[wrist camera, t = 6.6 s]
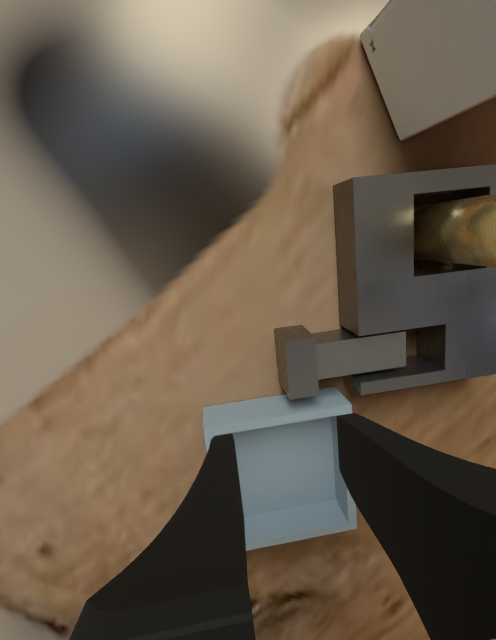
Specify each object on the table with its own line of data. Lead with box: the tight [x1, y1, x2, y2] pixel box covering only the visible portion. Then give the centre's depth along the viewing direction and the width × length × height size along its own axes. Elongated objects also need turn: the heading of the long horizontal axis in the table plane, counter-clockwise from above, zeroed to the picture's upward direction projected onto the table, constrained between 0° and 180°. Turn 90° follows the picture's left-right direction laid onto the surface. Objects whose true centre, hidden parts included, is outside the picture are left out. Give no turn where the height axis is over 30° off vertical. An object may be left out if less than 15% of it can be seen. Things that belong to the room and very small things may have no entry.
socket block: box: [333, 164, 496, 395], centre depth 20 cm, size 11×8×3 cm
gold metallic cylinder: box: [414, 194, 496, 267], centre depth 16 cm, size 3×3×9 cm
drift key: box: [274, 325, 406, 400], centre depth 20 cm, size 3×7×3 cm, turn 96°
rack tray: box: [203, 387, 357, 551], centre depth 21 cm, size 8×8×2 cm
